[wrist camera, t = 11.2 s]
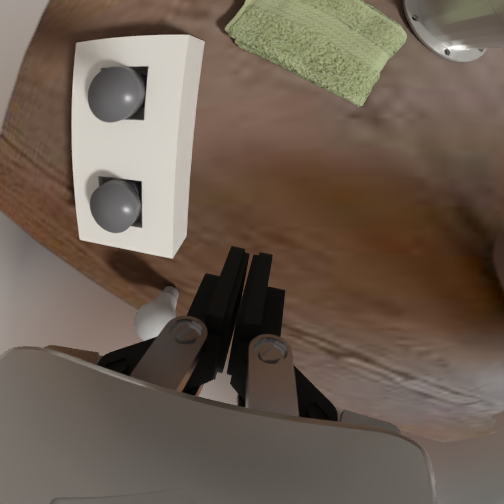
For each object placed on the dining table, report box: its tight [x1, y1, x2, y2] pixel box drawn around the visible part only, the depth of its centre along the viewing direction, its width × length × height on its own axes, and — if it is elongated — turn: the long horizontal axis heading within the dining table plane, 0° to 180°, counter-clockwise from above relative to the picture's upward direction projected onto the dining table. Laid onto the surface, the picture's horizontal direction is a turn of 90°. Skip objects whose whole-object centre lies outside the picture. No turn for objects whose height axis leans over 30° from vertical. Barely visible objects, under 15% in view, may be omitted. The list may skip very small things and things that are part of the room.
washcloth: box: [225, 0, 407, 107], centre depth 27 cm, size 13×18×3 cm
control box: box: [72, 35, 205, 259], centre depth 34 cm, size 26×14×6 cm, turn 172°
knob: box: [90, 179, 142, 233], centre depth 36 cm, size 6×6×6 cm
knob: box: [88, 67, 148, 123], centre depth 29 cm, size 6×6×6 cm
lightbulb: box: [134, 286, 179, 341], centre depth 44 cm, size 6×6×11 cm
